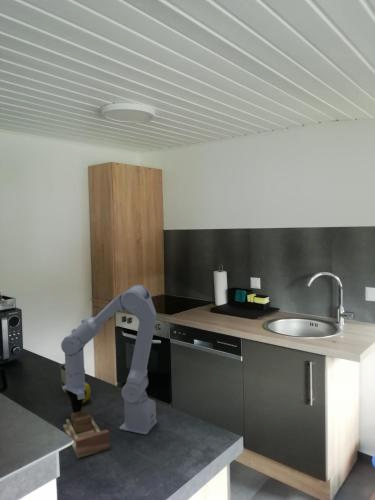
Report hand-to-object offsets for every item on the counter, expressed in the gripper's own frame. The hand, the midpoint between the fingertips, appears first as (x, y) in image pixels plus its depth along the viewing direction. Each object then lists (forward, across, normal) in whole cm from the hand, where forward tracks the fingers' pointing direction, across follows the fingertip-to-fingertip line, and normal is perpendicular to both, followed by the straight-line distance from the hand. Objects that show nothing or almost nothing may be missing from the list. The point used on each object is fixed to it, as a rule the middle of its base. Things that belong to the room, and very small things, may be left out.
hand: (76, 412), depth 122 cm
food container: (+4, -22, +5) cm, 23 cm away
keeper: (+2, +6, 0) cm, 6 cm away
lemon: (+4, -12, +5) cm, 13 cm away
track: (+3, +10, 0) cm, 11 cm away
